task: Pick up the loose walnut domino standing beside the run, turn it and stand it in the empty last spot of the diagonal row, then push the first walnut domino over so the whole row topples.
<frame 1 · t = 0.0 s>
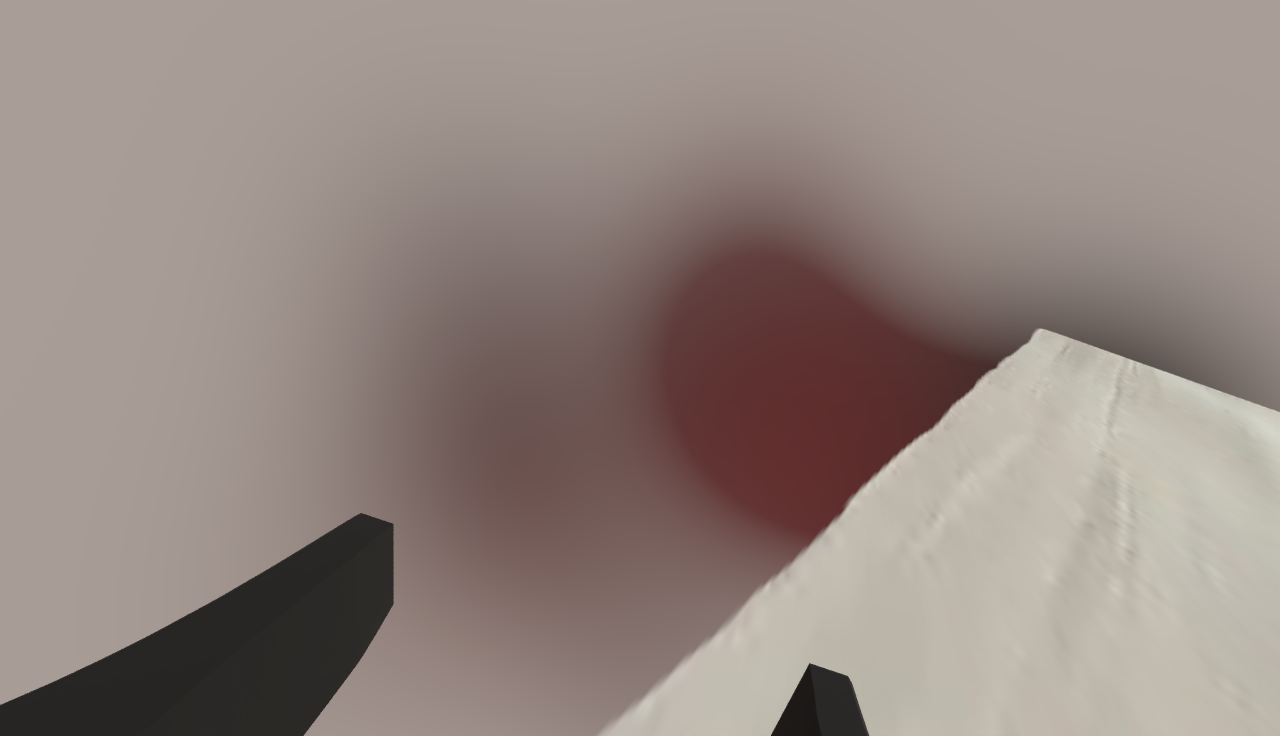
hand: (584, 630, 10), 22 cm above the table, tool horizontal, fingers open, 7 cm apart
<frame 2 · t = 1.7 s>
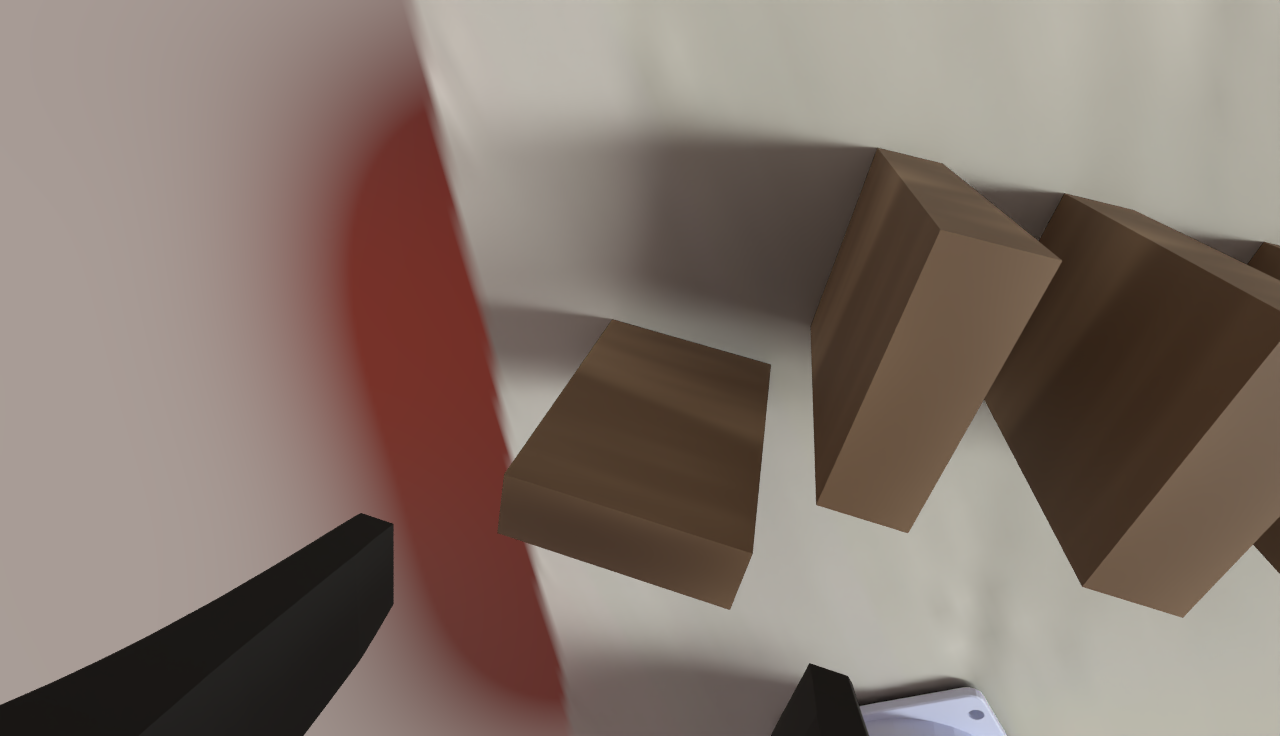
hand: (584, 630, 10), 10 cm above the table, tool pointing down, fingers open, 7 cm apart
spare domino: (684, 364, 19), on the table
domino 2: (1044, 297, 16), on the table
domino 1: (871, 251, 16), on the table
domino 3: (1228, 345, 15), on the table
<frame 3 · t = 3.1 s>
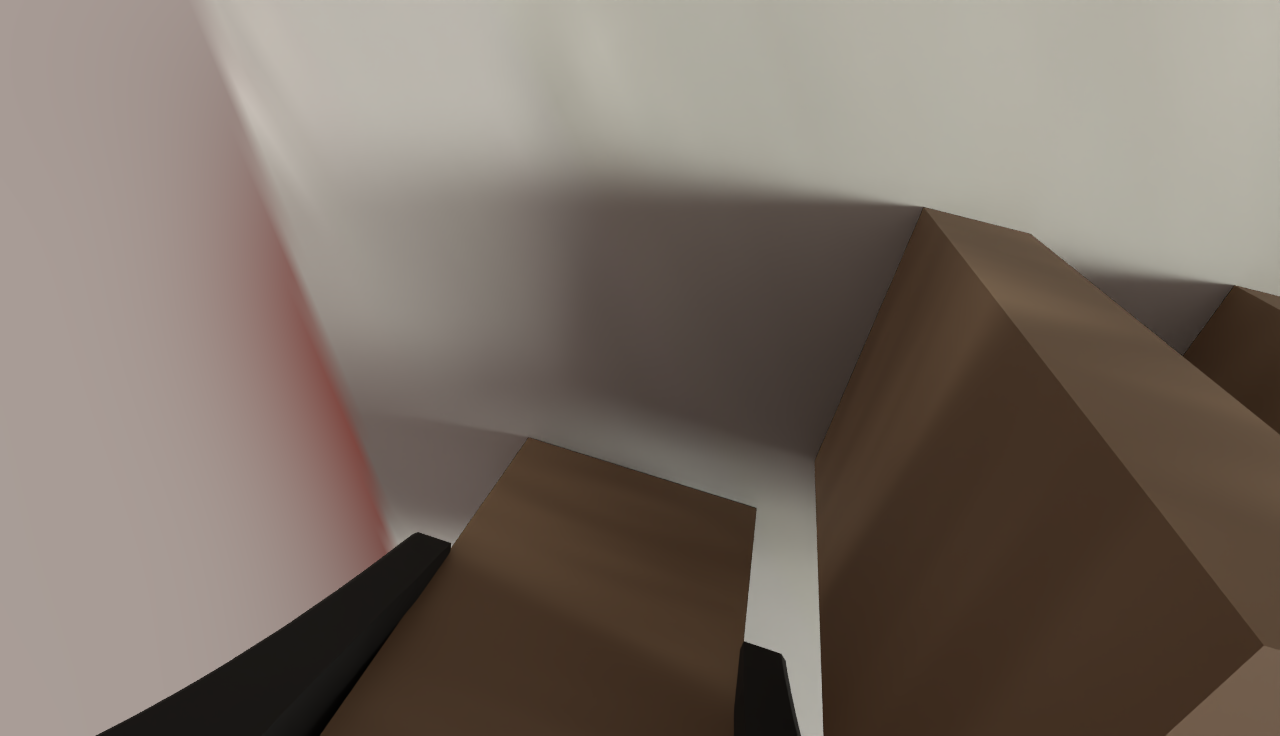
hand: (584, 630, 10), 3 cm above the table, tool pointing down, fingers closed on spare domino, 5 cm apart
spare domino: (633, 500, 13), on the table, touching gripper
domino 2: (1184, 438, 10), on the table
domino 1: (909, 361, 11), on the table
when the fingers open (4 cm above the table, at t = 9.1 s): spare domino stays where it is, on the table.
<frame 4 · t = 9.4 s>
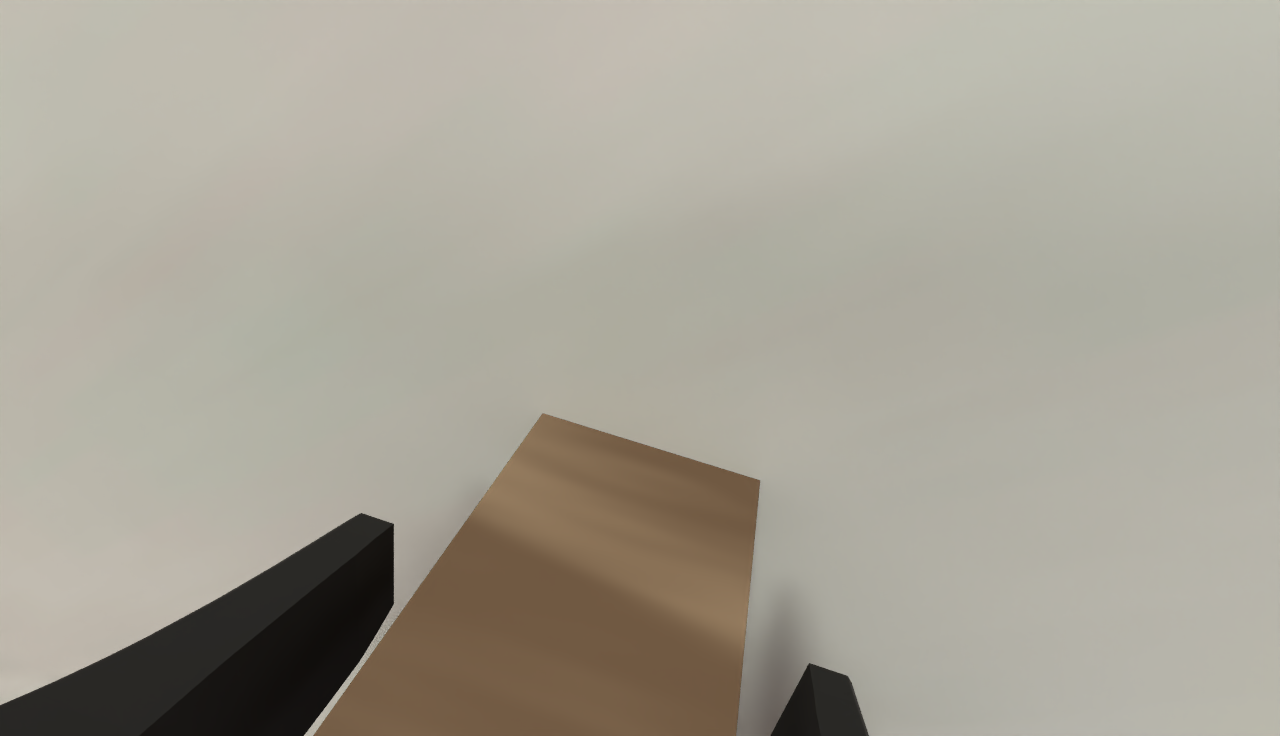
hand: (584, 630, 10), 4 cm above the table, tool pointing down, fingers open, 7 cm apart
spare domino: (642, 474, 14), on the table
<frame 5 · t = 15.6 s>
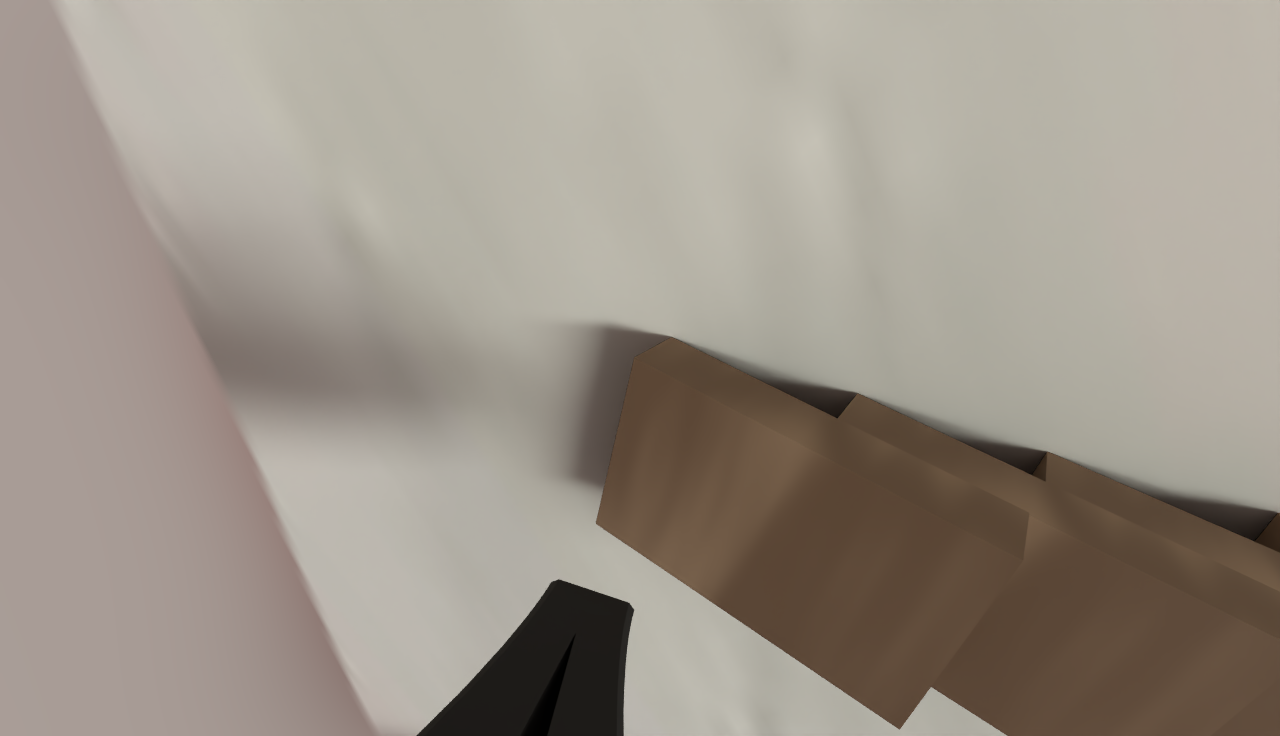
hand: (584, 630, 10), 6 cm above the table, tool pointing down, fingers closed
domino 2: (809, 490, 15), point 1 cm above the table, tilted 69°, touching domino 1, domino 3
domino 1: (632, 434, 15), point 1 cm above the table, tilted 69°, touching domino 2
domino 4: (1223, 618, 14), point 1 cm above the table, tilted 77°
domino 3: (991, 549, 14), point 1 cm above the table, tilted 70°, touching domino 2
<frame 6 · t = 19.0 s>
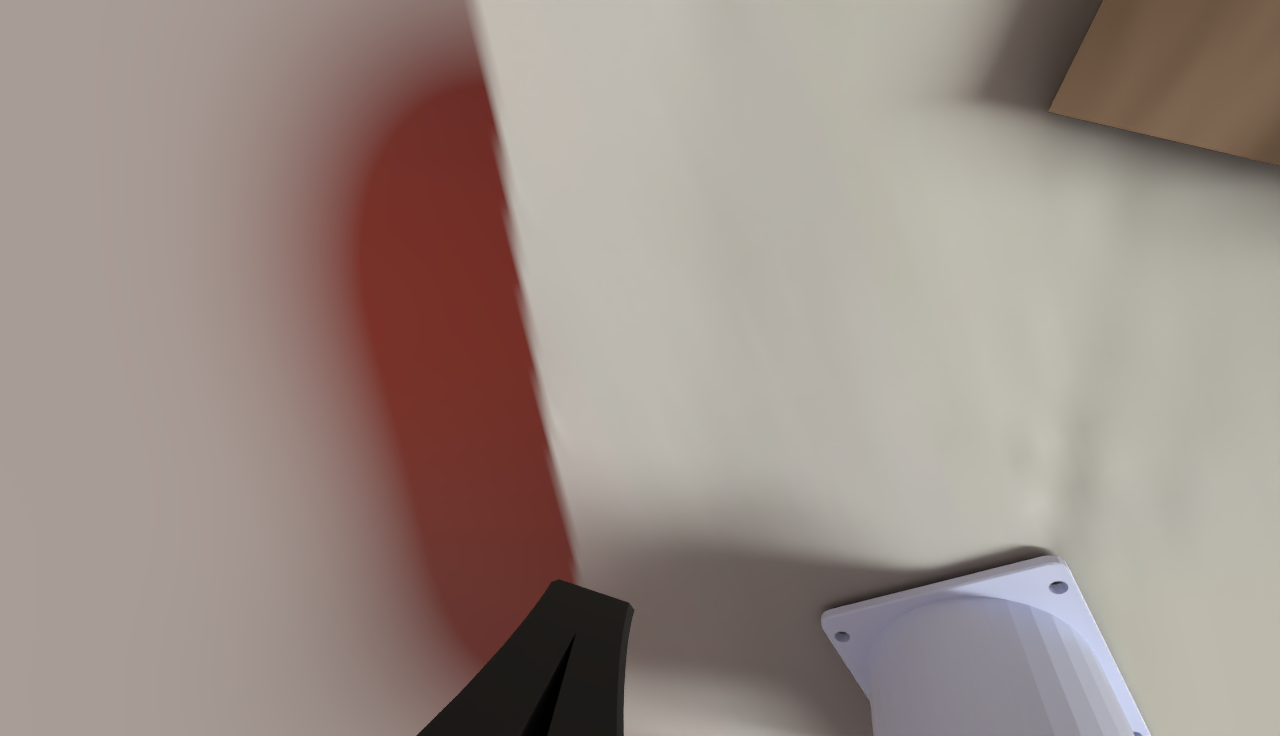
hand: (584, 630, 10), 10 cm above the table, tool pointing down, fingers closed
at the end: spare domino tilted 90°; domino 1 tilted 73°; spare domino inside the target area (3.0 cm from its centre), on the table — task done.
